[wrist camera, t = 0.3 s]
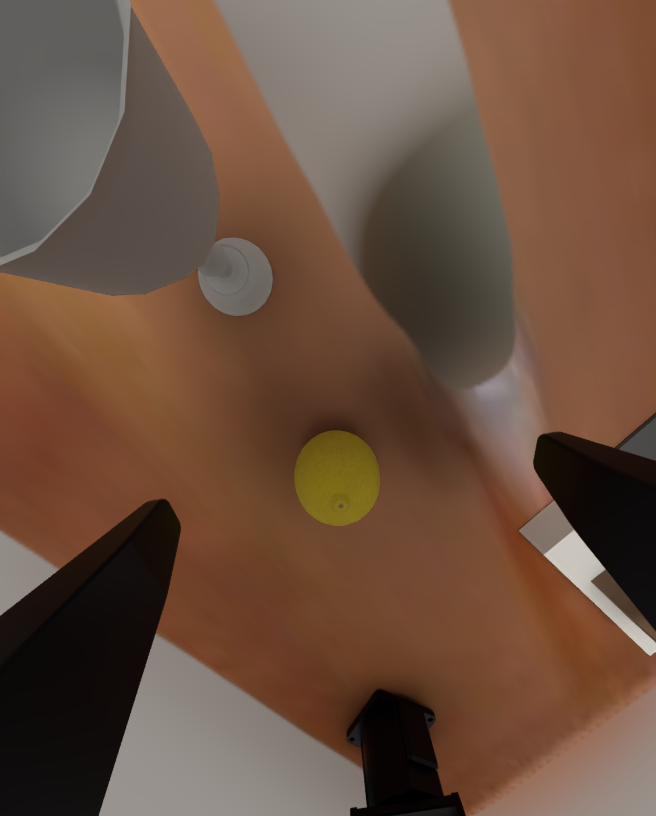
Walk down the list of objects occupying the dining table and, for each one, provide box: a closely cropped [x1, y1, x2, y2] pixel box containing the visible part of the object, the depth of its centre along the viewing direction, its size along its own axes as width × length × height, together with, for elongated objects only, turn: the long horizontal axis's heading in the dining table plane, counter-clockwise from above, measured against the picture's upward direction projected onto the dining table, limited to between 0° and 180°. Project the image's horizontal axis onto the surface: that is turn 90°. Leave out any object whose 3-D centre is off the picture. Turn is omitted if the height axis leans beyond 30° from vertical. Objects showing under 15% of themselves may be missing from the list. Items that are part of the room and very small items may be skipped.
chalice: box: [0, 0, 273, 316], centre depth 12 cm, size 7×7×18 cm
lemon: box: [294, 430, 380, 526], centre depth 20 cm, size 6×6×8 cm
